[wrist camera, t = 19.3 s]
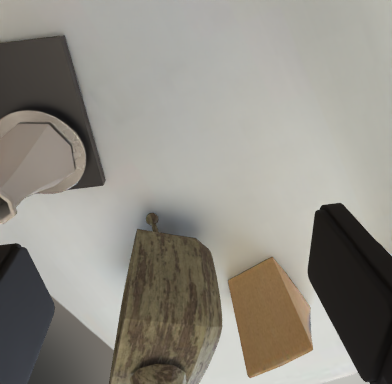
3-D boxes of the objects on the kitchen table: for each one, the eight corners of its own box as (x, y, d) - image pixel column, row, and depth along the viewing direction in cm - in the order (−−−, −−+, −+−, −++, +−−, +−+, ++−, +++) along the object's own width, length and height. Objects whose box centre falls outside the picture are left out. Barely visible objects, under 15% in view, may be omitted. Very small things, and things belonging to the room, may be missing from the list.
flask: (-14, 133, 30) (-87, 181, 22) (53, 111, 30) (6, 152, 21) (26, 192, 34) (-22, 254, 25) (87, 174, 33) (59, 231, 25)
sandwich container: (269, 328, 55) (299, 423, 42) (225, 281, 48) (246, 378, 35) (312, 307, 53) (358, 401, 40) (273, 255, 46) (314, 349, 33)
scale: (-101, 52, 29) (-127, 56, 26) (64, 33, 29) (54, 35, 27) (-22, 195, 37) (-36, 209, 35) (105, 180, 38) (101, 192, 35)
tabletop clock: (141, 201, 39) (110, 425, 18) (208, 212, 41) (252, 429, 20) (125, 279, 46) (88, 510, 25) (182, 286, 48) (195, 507, 27)
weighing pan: (-26, 115, 30) (-28, 116, 29) (71, 104, 30) (70, 105, 29) (13, 196, 34) (12, 198, 34) (96, 186, 35) (95, 188, 34)
